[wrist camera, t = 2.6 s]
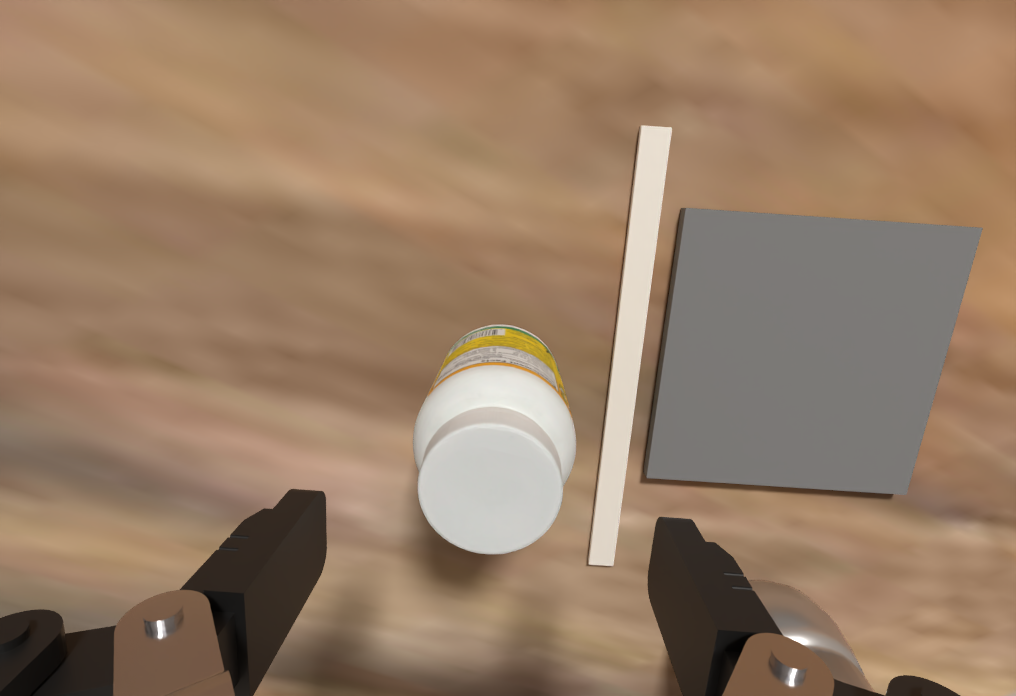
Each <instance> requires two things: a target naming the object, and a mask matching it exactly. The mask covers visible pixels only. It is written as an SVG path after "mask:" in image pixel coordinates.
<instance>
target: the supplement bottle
mask: <svg viewBox="0 0 1016 696" xmlns="http://www.w3.org/2000/svg"><path fill="white" fill-rule="evenodd" d="M413 452H414V458H415V462H416V465H417V468H418V471H419V476H418V497H419V502H420V505H421V508H422V511H423V513H424V515H425V517H426V519H427V521H428V522H429V524H430V525H431V526H432V527H433V528H434V530H435V531H436V532H437V533H438V534H439V535H441V536H442V537H443V538H444V539H446V540H447V541H448V542H450V543H451V544H453V545H455V546H457V547H459V548H462V549H465V550H467V551H471V552H475V553H480V554H505V553H510V552H513V551H517V550H519V549H522V548H524V547H526V546H528V545H530V544H532V543H533V542H535V541H536V540H538V539H539V538H540V537H541V536H542V535H543V534H544V533H545V532H546V531H547V530H548V529H549V528H550V526H551V525H552V524H553V522H554V520H555V519H556V517H557V515H558V512H559V509H560V506H561V503H562V497H563V486H564V484H565V483H566V481H567V479H568V477H569V475H570V473H571V470H572V467H573V464H574V460H575V453H576V435H575V428H574V423H573V419H572V415H571V411H570V408H569V405H568V402H567V398H566V394H565V391H564V387H563V384H562V380H561V377H560V373H559V370H558V368H557V365H556V362H555V359H554V357H553V355H552V353H551V352H550V350H549V348H548V347H547V346H546V345H545V344H544V343H543V342H542V341H541V340H540V339H539V338H538V337H537V336H535V335H533V334H532V333H530V332H528V331H526V330H524V329H521V328H519V327H515V326H510V325H489V326H485V327H481V328H478V329H476V330H473V331H471V332H470V333H468V334H466V335H465V336H463V337H462V338H461V339H460V340H459V341H457V342H456V343H455V344H454V346H453V347H452V348H451V349H450V351H449V352H448V354H447V355H446V358H445V360H444V362H443V364H442V366H441V368H440V370H439V372H438V374H437V377H436V379H435V381H434V383H433V385H432V387H431V389H430V391H429V393H428V395H427V397H426V399H425V401H424V403H423V405H422V407H421V409H420V412H419V414H418V417H417V419H416V423H415V427H414V434H413Z"/></svg>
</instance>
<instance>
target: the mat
mask: <svg viewBox="0 0 1016 696" xmlns="http://www.w3.org/2000/svg"><path fill="white" fill-rule="evenodd" d="M982 229H983V228H977V227H962V226H947V225H932V224H917V223H902V222H887V221H872V220H858V219H843V218H828V217H813V216H798V215H783V214H768V213H753V212H738V211H724V210H709V209H694V208H681V213H680V220H679V227H678V234H677V241H676V248H675V255H674V262H673V269H672V276H671V283H670V290H669V297H668V304H667V311H666V317H665V324H664V331H663V338H662V345H661V352H660V359H659V366H658V373H657V380H656V387H655V394H654V401H653V408H652V415H651V422H650V429H649V436H648V443H647V450H646V457H645V464H644V471H643V472H644V474H645V476H646V478H655V479H670V480H686V481H701V482H716V483H732V484H747V485H763V486H778V487H793V488H809V489H824V490H840V491H855V492H870V493H886V494H901V495H906V494H907V490H908V487H909V483H910V480H911V476H912V473H913V469H914V466H915V462H916V459H917V455H918V452H919V448H920V445H921V441H922V438H923V434H924V431H925V427H926V424H927V420H928V417H929V413H930V410H931V406H932V403H933V400H934V396H935V393H936V389H937V386H938V382H939V379H940V375H941V372H942V368H943V365H944V361H945V358H946V354H947V351H948V347H949V344H950V340H951V337H952V333H953V330H954V326H955V323H956V319H957V316H958V312H959V309H960V305H961V302H962V298H963V295H964V291H965V288H966V284H967V281H968V277H969V274H970V270H971V267H972V264H973V260H974V257H975V253H976V250H977V246H978V243H979V239H980V236H981V232H982Z"/></svg>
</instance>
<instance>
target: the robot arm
mask: <svg viewBox="0 0 1016 696" xmlns="http://www.w3.org/2000/svg"><path fill="white" fill-rule="evenodd" d="M326 551H327V538H326V497H325V494H324V492H323V491H312V490H299V489H291V490H289V491H288V492H287V493H286V494H285V496H284V497H283V498H282V499H281V500H280V501H279V503H278V504H277V505H276V506H275V507H274V508H273V509H263V510H261V511H259V512H257V513H256V514H254V515H252V516H250V517H249V518H247V519H245V520H244V521H243V522H242V523H241V524H240V525H239V526H238V527H237V528H236V529H235V531H234V532H233V533H232V534H231V536H230V538H227V539H226V540H225V541H224V542H223V543H222V545H221V546H220V547H219V550H216V551H215V552H214V553H213V554H212V555H211V556H210V558H209V559H208V560H207V561H206V562H205V563H204V564H203V565H202V566H201V567H200V568H199V569H198V570H197V572H196V573H195V574H194V575H193V576H192V577H191V578H190V579H189V580H188V581H187V582H186V583H185V585H184V586H183V587H182V588H181V589H180V590H176V591H170V592H166V593H162V594H159V595H156V596H153V597H151V598H149V599H146V600H144V601H143V602H141V603H139V604H137V605H136V606H134V607H133V608H132V609H130V610H129V611H128V612H127V613H126V614H125V615H124V616H123V617H122V618H121V619H120V620H119V622H118V623H117V625H116V626H111V627H105V628H99V629H92V630H86V631H80V632H74V633H67V634H65V631H64V625H63V620H62V617H61V616H60V615H59V614H58V613H56V612H54V611H50V610H29V611H23V612H19V613H15V614H11V615H8V616H5V617H2V618H0V696H253V695H254V693H255V691H256V690H257V688H258V686H259V684H260V682H261V681H262V679H263V677H264V675H265V674H266V672H267V670H268V668H269V666H270V665H271V663H272V661H273V659H274V658H275V656H276V654H277V652H278V650H279V649H280V647H281V645H282V643H283V642H284V640H285V638H286V636H287V634H288V633H289V631H290V629H291V627H292V626H293V624H294V622H295V620H296V618H297V617H298V615H299V613H300V611H301V610H302V608H303V606H304V604H305V602H306V601H307V599H308V597H309V595H310V594H311V592H312V590H313V588H314V586H315V585H316V583H317V581H318V579H319V577H320V575H321V573H322V570H323V567H324V563H325V559H326ZM648 593H649V599H650V603H651V606H652V608H653V611H654V614H655V617H656V620H657V623H658V626H659V629H660V631H661V634H662V637H663V640H664V643H665V646H666V649H667V651H668V654H669V657H670V660H671V663H672V666H673V669H674V672H675V674H676V677H677V680H678V683H679V686H680V689H681V692H682V695H683V696H884V695H881V694H878V693H875V692H872V691H869V690H866V689H863V688H859V687H856V686H853V685H850V684H847V683H844V682H841V681H839V680H836V679H834V678H833V676H832V673H831V671H830V670H829V668H828V667H827V665H826V664H825V663H824V662H823V660H822V659H821V658H820V657H819V656H818V655H817V654H815V653H814V652H813V651H812V650H810V649H809V648H807V647H806V646H804V645H803V644H801V643H799V642H797V641H795V640H793V639H791V638H788V637H785V636H783V634H782V633H781V631H780V630H779V628H778V627H777V625H776V623H775V622H774V620H773V619H772V617H771V616H770V614H769V613H768V611H767V609H766V608H765V606H764V605H763V603H762V602H761V600H760V599H759V597H758V595H757V594H756V592H755V591H753V590H752V586H751V585H750V583H749V581H748V580H747V578H746V577H744V576H743V572H742V571H741V569H740V567H739V566H738V564H737V563H736V561H735V560H734V558H733V557H732V556H731V555H730V554H728V553H727V552H726V551H725V550H723V549H722V548H721V547H720V546H719V545H717V544H716V543H714V542H705V540H704V539H703V537H702V535H701V533H700V532H699V530H698V528H697V527H696V525H695V523H694V522H693V520H691V519H682V518H669V517H659V518H658V519H657V522H656V526H655V532H654V538H653V545H652V551H651V558H650V564H649V571H648ZM885 696H960V695H958V694H957V693H955V692H953V691H951V690H950V689H948V688H946V687H944V686H942V685H940V684H938V683H935V682H933V681H930V680H927V679H924V678H920V677H916V676H907V675H904V676H898V677H895V678H893V679H892V680H891V681H890V683H889V685H888V689H887V692H886V695H885Z"/></svg>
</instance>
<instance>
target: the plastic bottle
mask: <svg viewBox="0 0 1016 696" xmlns="http://www.w3.org/2000/svg"><path fill="white" fill-rule="evenodd" d="M749 583H750V585H751V586H752V590H753V591H755V592H756V594H757V595H758V597H759V599H760V600H761V602H762V603H763V605H764V606H765V608H766V609H767V611H768V613H769V614H770V616H771V617H772V619H773V620H774V622H775V623H776V625H777V627H778V628H779V630H780V631H781V633H782V634H783V636H785V637H788V638H791V639H793V640H795V641H797V642H799V643H801V644H803V645H804V646H806V647H807V648H809V649H810V650H812V651H813V652H814V653H815V654H817V655H818V656H819V657H820V658H821V659H822V660H823V662H824V663H825V664H826V665H827V667H828V668H829V670H830V671H831V673H832V676H833V678H834V679H836V680H839V681H841V682H844V683H847V684H850V685H853V686H856V687H859V688H863V689H866V690H869V691H872V692H875V691H874V690H873V688H872V687H871V685H870V684H869V682H868V681H867V679H866V678H865V676H864V673H863V671H862V669H861V667H860V665H859V663H858V661H857V659H856V657H855V655H854V653H853V651H852V649H851V647H850V646H849V644H848V642H847V641H846V639H845V638H844V636H843V634H842V633H841V631H840V629H839V628H838V626H837V624H836V623H835V622H834V621H833V620H832V618H831V617H830V616H829V615H828V614H827V613H826V612H825V611H823V610H822V609H821V608H820V607H819V606H818V605H817V604H815V603H814V602H813V601H812V600H811V599H810V598H809V597H807V596H806V595H805V594H803V593H802V592H800V591H799V590H797V589H795V588H792V587H790V586H787V585H783V584H779V583H775V582H770V581H765V580H751V581H749Z"/></svg>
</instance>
